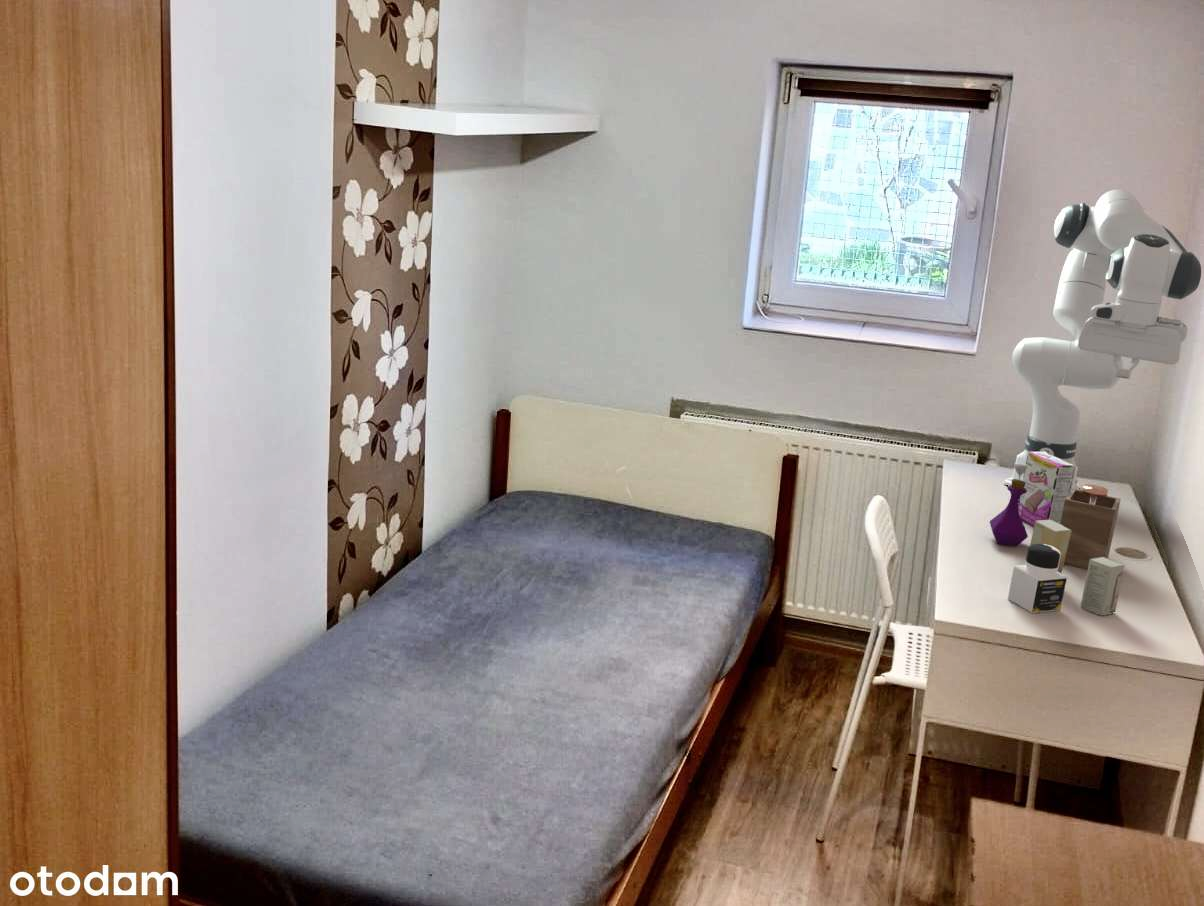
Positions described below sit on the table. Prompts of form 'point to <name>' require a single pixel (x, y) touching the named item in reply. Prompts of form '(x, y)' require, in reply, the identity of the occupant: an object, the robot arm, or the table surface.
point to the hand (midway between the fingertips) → (1122, 377)
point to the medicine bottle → (1038, 580)
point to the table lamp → (1094, 492)
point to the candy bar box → (1045, 487)
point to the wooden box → (1088, 527)
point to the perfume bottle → (1011, 515)
